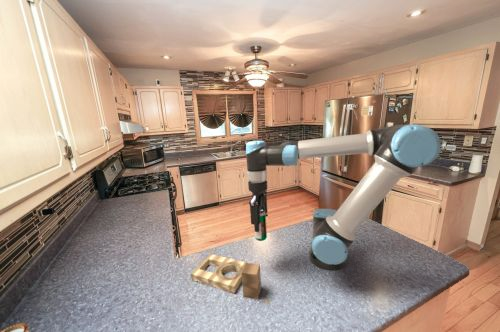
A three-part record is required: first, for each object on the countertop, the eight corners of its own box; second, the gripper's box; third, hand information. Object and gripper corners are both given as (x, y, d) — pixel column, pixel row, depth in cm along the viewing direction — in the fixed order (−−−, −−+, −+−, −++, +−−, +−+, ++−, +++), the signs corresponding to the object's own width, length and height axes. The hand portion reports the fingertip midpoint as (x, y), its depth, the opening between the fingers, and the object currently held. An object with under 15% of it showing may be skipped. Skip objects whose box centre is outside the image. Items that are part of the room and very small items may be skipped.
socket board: (249, 269, 89) (249, 263, 88) (234, 293, 76) (233, 286, 76) (211, 259, 97) (210, 253, 96) (191, 280, 84) (190, 273, 84)
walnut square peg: (261, 287, 78) (259, 264, 77) (258, 299, 73) (256, 274, 71) (247, 285, 80) (245, 262, 78) (243, 297, 75) (241, 272, 73)
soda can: (269, 237, 86) (268, 210, 84) (261, 243, 82) (260, 215, 80) (260, 233, 89) (258, 207, 87) (252, 238, 86) (250, 212, 83)
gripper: (257, 174, 91) (260, 223, 95) (238, 186, 75) (243, 244, 79) (273, 175, 88) (275, 225, 92) (257, 187, 71) (261, 248, 76)
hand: (260, 234), depth 85 cm, fingers closed on soda can, 5 cm apart
